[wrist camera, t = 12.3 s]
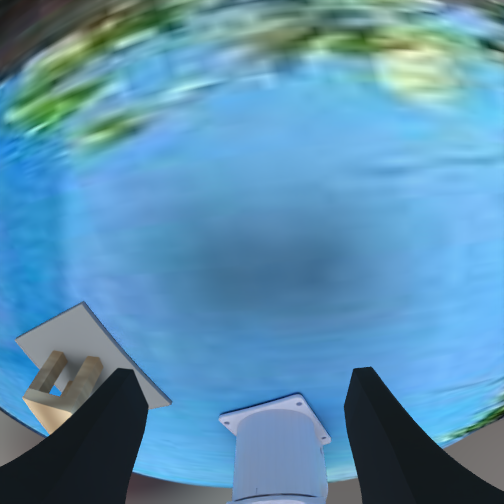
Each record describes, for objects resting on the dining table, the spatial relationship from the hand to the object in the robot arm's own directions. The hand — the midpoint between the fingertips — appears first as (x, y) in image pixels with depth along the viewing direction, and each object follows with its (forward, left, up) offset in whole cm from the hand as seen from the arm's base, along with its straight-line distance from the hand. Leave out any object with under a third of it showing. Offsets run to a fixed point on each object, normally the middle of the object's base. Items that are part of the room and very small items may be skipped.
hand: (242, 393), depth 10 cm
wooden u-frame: (-4, +19, -10) cm, 22 cm away
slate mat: (-4, +19, -11) cm, 22 cm away
